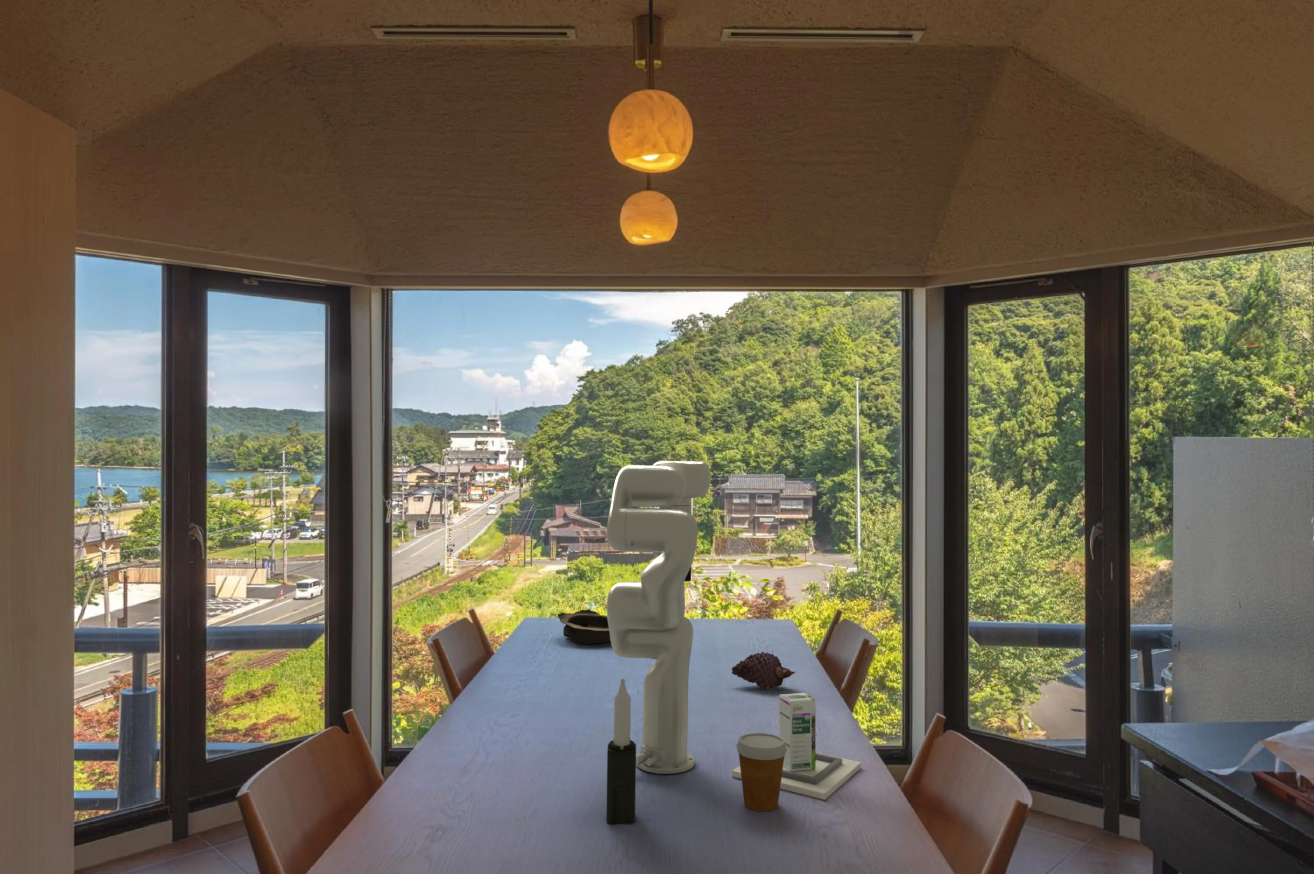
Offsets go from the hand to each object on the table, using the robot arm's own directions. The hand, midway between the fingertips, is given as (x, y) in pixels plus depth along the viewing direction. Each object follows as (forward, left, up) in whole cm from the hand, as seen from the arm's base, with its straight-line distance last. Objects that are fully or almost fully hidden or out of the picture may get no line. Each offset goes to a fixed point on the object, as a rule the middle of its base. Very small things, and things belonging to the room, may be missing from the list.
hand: (674, 583), depth 204 cm
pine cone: (+43, -3, -34) cm, 55 cm away
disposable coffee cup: (-29, -38, -34) cm, 59 cm away
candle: (-49, -20, -34) cm, 63 cm away
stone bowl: (+63, +73, -35) cm, 102 cm away
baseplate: (-10, -37, -34) cm, 51 cm away
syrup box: (-10, -37, -33) cm, 51 cm away
